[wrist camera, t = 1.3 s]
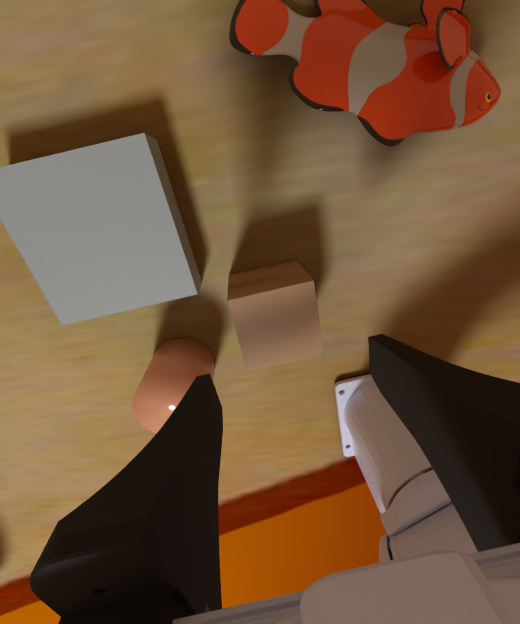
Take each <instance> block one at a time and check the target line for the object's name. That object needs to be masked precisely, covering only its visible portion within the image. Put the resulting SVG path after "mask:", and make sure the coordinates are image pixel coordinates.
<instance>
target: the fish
mask: <svg viewBox="0 0 520 624" xmlns="http://www.w3.org/2000/svg"><path fill="white" fill-rule="evenodd" d="M464 2H465V0H422V1H421V4H420V10H421V13H422V15H423V17H424V19H425V21H426V26H424V25H422V24H419V23H412V24H409V25H408V26H407V27H406V26H401V25H397V24H393V23H390V22H388V21H385V20H383V19H381V18H379V17H378V16H377V15H376V14H375V13H374V12H373V10H372V9H371V8H370V7H369V6H368V5H367V4H366V3H365V2H364V1H363V0H314V4H315V6H316V7H317V9H318V10H319V11H320V12H321V14H322V15H321V16H319V17H315V18H309V17H305V16H302V15H299V14H297V13H296V12H294V11H293V10H292V9H290V8H289V7H288V6H287V5H286V4H285V3H284V2H282V1H281V0H240V2H239V3H238V5H237V7H236V9H235V11H234V14H233V16H232V20H231V25H230V34H229V38H230V43H231V45H232V46H233V47H234V48H235V49H237V50H238V51H240V52H243V53H246V54H250V55H288V56H291V57H293V58H294V59H295V60H296V61H297V62H298V66H297V67H296V68H295V69H294V70H293V71H292V72H291V73H290V75H289V83H290V86H291V88H292V90H293V91H294V93H295V94H296V95H297V96H298V97H299V98H300V99H301V100H302V101H303V102H305V103H306V104H307V105H309V106H311V107H312V108H315V109H318V110H322V111H349V112H352V113H353V114H355V115H356V116H357V117H358V118H359V120H360V121H361V123H362V124H363V126H364V127H365V128H366V130H367V131H368V132H369V133H370V134H371V135H372V136H373V137H374V138H375V139H376V140H377V141H379V142H380V143H382V144H384V145H387V146H395V145H397V144H399V143H400V142H401V141H402V140H403V139H404V138H406V137H407V136H408V135H409V134H411V133H420V132H436V131H444V130H450V129H455V128H460V127H464V126H467V125H470V124H472V123H474V122H476V121H478V120H479V119H481V118H482V117H483V116H485V115H486V114H487V113H488V112H489V111H490V110H491V109H492V108H493V107H494V106H495V105H496V103H497V102H498V100H499V97H500V94H501V89H500V86H499V84H498V82H497V81H496V79H495V78H494V76H493V75H492V73H491V72H490V70H489V69H488V67H487V66H486V65H485V63H484V62H483V61H482V59H481V58H480V57H479V56H478V55H477V54H476V53H475V52H474V51H473V50H472V49H470V48H469V39H470V31H471V24H470V21H469V19H468V18H467V17H466V15H465V14H464V13H462V9H463V6H464Z"/></svg>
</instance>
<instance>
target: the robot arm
mask: <svg viewBox="0 0 520 624" xmlns="http://www.w3.org/2000/svg"><path fill="white" fill-rule="evenodd" d="M368 340H369V359H370V374H369V375H364V376H360V377H355V378H351V379H346V380H342V381H338V382H337V383H336V384H335V386H334V387H335V395H336V403H337V411H338V419H339V426H340V434H341V442H342V450H343V454H344V456H346V457H350V456H354V455H355V457H356V459H357V462H358V464H359V466H360V468H361V471H362V473H363V475H364V477H365V479H366V482H367V484H368V486H369V488H370V491H371V493H372V495H373V497H374V500H375V502H376V504H377V506H378V509H379V511H380V512H381V515H380V519H381V521H382V523H383V526H384V528H385V530H386V532H387V534H386V535H384V536H382V537H381V539H380V542H379V553H380V554H379V563H377V564H373V565H368V566H365V567H360V568H355V569H350V570H346V571H342V572H337V573H334V574H331V575H329V576H326V577H323V578H320V579H318V580H316V581H315V582H314V583H313V584H311V585H310V586H309V587H308V588H306V589H305V591H300V592H296V593H291V594H287V595H282V596H278V597H273V598H269V599H265V600H260V601H255V602H251V603H247V604H242V605H237V606H233V607H228V608H224V609H222V601H221V583H220V560H219V527H218V481H219V469H220V458H221V446H222V434H223V417H222V406H221V403H220V400H219V398H218V395H217V392H216V389H215V386H214V384H213V381H212V378H211V375H210V373H209V374H205V375H200V376H196V378H195V379H194V381H193V382H192V384H191V386H190V387H189V389H188V390H187V392H186V393H185V395H184V396H183V398H182V400H181V401H180V402H179V404H178V405H177V407H176V408H175V410H174V411H173V413H172V414H171V415H170V417H169V418H168V419H167V421H166V422H165V423H164V425H163V426H162V428H161V429H160V430H159V431H158V432H157V434H156V435H155V436H154V437H153V438H152V439H151V441H150V442H149V443H148V444H147V445H146V446H145V447H144V448H143V450H142V451H141V452H140V453H139V454H138V455H137V456H136V457H135V458H134V459H133V460H132V461H131V462H130V463H129V464H128V465H127V466H126V467H125V468H124V469H123V470H121V471H120V472H119V473H118V474H117V475H116V476H115V477H114V478H113V479H112V480H110V481H109V482H108V483H107V484H106V485H105V486H103V487H102V488H101V489H100V490H99V491H98V492H96V493H95V494H94V495H93V496H91V497H90V498H89V499H88V500H86V501H85V502H84V503H82V504H81V505H80V506H78V507H77V508H76V509H75V510H73V511H72V512H71V513H69V514H68V515H67V516H65V517H64V518H63V519H61V520H60V521H59V522H58V523H57V525H56V527H55V529H54V531H53V533H52V534H51V536H50V538H49V540H48V542H47V544H46V546H45V548H44V550H43V552H42V554H41V556H40V558H39V559H38V561H37V563H36V565H35V567H34V569H33V571H32V573H31V576H30V580H29V581H30V585H31V588H32V591H33V592H34V593H35V595H36V596H37V597H38V598H39V599H40V600H42V601H43V602H44V603H45V604H46V605H48V606H49V607H50V608H51V609H52V610H54V611H55V612H56V613H57V614H58V615H60V616H61V619H60V621H59V624H520V383H517V382H513V381H509V380H505V379H501V378H497V377H493V376H489V375H485V374H482V373H478V372H475V371H472V370H469V369H466V368H463V367H460V366H457V365H454V364H451V363H448V362H446V361H443V360H441V359H438V358H435V357H433V356H431V355H428V354H426V353H424V352H421V351H419V350H417V349H414V348H412V347H410V346H408V345H406V344H404V343H401V342H399V341H397V340H395V339H393V338H390V337H388V336H386V335H383V334H379V335H375V336H371V337H368ZM341 390H343V391H341ZM339 391H341V392H339Z"/></svg>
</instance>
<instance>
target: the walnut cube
mask: <svg viewBox="0 0 520 624" xmlns="http://www.w3.org/2000/svg"><path fill="white" fill-rule="evenodd" d="M227 301H228V305H229V308H230V312H231V315H232V319H233V322H234V326H235V329H236V333H237V336H238V340H239V343H240V347H241V350H242V354H243V357H244V361H245V364H246V368H247V371H251V370H255V369H260V368H264V367H268V366H273V365H277V364H281V363H286V362H290V361H295V360H299V359H303V358H308V357H312V356H316V355H321V354H324V350H323V343H322V336H321V328H320V321H319V314H318V307H317V300H316V293H315V285H314V280H313V279H312V278H311V277H310V275H309V274H308V273H307V272H306V271H305V270H304V268H303V267H302V266H301V265H300V264H299V262H298V261H297V260H293V261H289V262H285V263H280V264H276V265H272V266H268V267H263V268H259V269H255V270H250V271H246V272H242V273H237V274H233V275H229V281H228V298H227Z"/></svg>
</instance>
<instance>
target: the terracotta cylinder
mask: <svg viewBox="0 0 520 624" xmlns="http://www.w3.org/2000/svg"><path fill="white" fill-rule="evenodd" d="M214 368H215V363H214V358H213V356H212V354H211V352H210V351H209V350H208V349H207V348H206V347H205V346H204V345H203V344H201V343H199V342H197V341H195V340H191V339H186V338H178V339H173V340H169V341H167V342H165V343H163V344H162V345H161V346H160V347H159V348H158V349H157V350H156V352H155V354H154V356H153V358H152V360H151V362H150V364H149V366H148V368H147V370H146V372H145V374H144V376H143V379H142V381H141V383H140V385H139V387H138V389H137V391H136V393H135V395H134V397H133V401H132V410H133V413H134V416H135V418H136V419H137V421H138V422H139V423H140V424H141V425H142V426H143V427H145V428H146V429H148V430H150V431H151V432H154V433H156V434H157V432H158V431H159V430H160V429H161V428H162V426H163V425H164V423H165V422H166V421H167V419H168V418H169V417H170V415H171V414H172V413H173V411H174V410H175V408H176V407H177V405H178V404H179V402H180V401H181V400H182V398H183V396H184V395H185V393H186V392H187V390H188V389H189V387H190V386H191V384H192V382H193V381H194V379H195V378H196V376H200V375H205V374H209V373H210V375H211V378H212V381H213V377H214Z"/></svg>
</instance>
